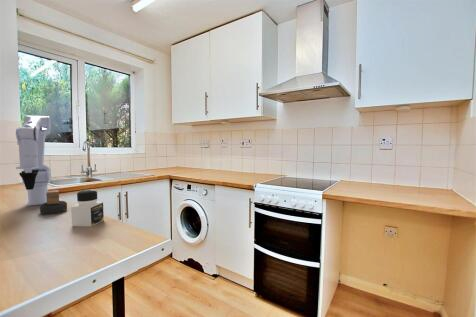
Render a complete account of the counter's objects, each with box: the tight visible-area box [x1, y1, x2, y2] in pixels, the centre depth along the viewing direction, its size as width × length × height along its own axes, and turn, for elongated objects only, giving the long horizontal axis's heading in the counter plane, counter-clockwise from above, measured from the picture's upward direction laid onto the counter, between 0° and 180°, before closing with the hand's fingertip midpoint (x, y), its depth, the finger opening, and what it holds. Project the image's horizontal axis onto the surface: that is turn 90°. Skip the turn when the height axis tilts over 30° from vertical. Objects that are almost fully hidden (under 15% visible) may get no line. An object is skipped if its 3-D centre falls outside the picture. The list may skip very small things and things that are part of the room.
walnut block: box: [46, 189, 60, 205], centre depth 97 cm, size 4×4×5 cm
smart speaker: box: [39, 200, 68, 216], centre depth 98 cm, size 9×9×4 cm
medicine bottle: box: [70, 189, 105, 228], centre depth 83 cm, size 7×7×12 cm
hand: (30, 188), depth 98 cm, fingers open, 7 cm apart
